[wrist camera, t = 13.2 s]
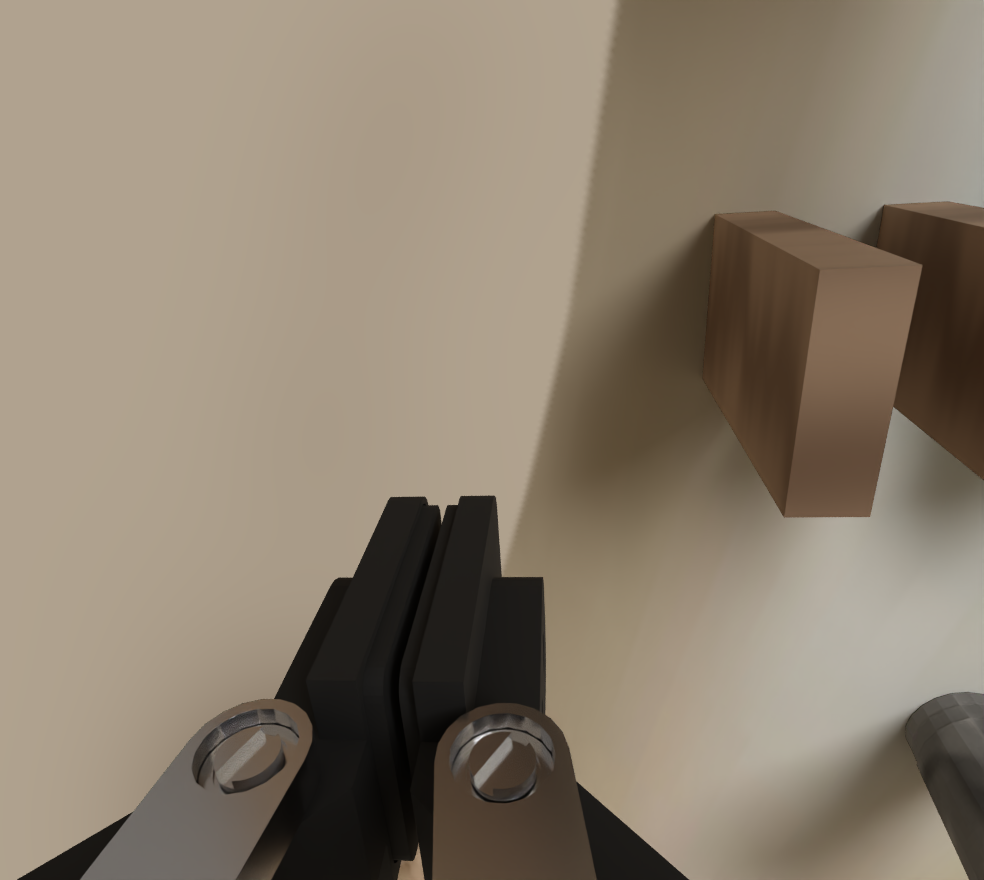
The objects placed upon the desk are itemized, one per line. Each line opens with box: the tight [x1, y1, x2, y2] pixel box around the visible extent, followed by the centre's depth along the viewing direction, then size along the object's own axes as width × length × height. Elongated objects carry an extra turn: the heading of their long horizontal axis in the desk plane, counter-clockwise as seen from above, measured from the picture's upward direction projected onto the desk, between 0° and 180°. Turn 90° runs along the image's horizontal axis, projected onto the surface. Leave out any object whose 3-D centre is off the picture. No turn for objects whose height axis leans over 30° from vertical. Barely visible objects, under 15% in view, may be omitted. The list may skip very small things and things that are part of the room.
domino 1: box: [702, 211, 923, 517], centre depth 19 cm, size 6×2×10 cm, turn 4°
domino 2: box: [877, 202, 984, 480], centre depth 19 cm, size 6×2×10 cm, turn 4°
